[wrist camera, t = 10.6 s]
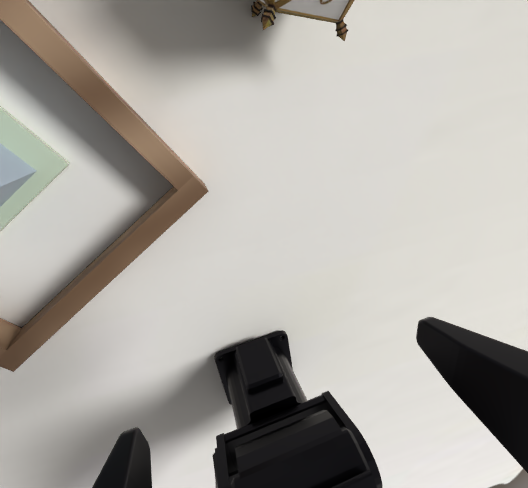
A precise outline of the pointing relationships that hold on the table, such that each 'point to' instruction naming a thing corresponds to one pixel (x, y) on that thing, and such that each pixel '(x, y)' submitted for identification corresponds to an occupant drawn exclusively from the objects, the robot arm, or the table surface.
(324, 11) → the game die
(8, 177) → the slate-blue block
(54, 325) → the frame
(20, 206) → the pad
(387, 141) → the table surface
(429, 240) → the table surface
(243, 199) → the table surface
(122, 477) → the robot arm
